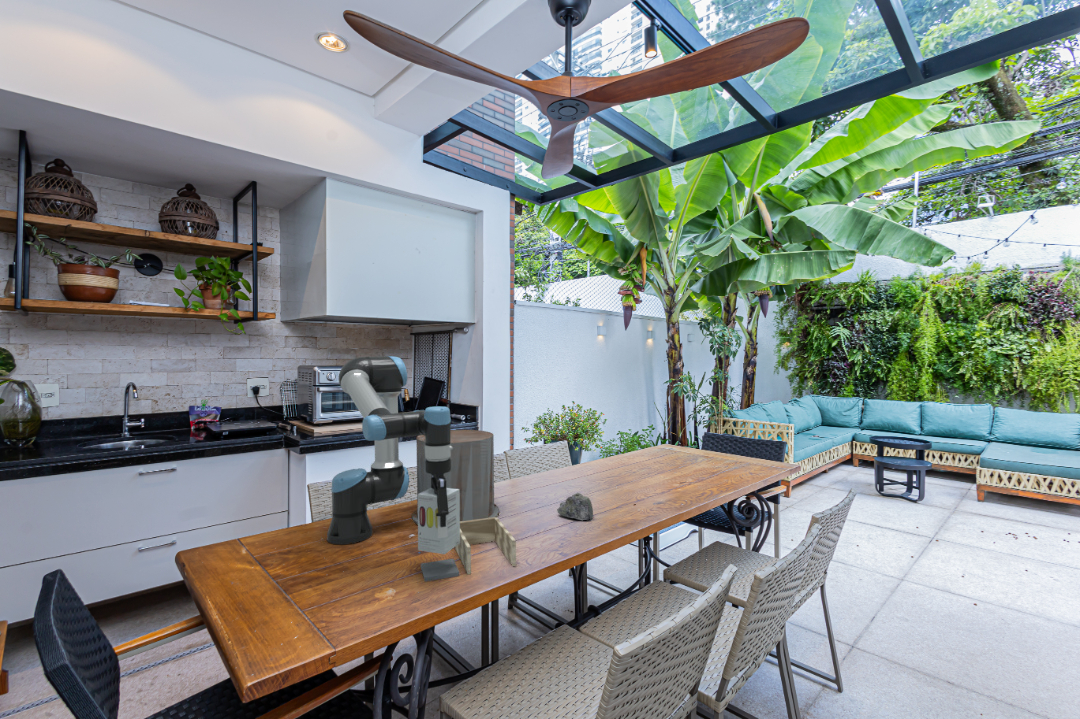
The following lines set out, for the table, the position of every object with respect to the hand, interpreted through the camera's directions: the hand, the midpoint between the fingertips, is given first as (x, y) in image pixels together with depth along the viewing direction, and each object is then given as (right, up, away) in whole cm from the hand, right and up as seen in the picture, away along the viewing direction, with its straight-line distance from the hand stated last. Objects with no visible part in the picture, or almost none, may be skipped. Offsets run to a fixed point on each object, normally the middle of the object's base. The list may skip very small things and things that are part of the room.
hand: (439, 529), depth 146 cm
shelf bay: (+12, -12, +11) cm, 21 cm away
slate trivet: (0, -13, 0) cm, 13 cm away
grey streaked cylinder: (-4, -12, +51) cm, 53 cm away
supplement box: (0, -5, 0) cm, 5 cm away
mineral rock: (+45, -12, +47) cm, 66 cm away
